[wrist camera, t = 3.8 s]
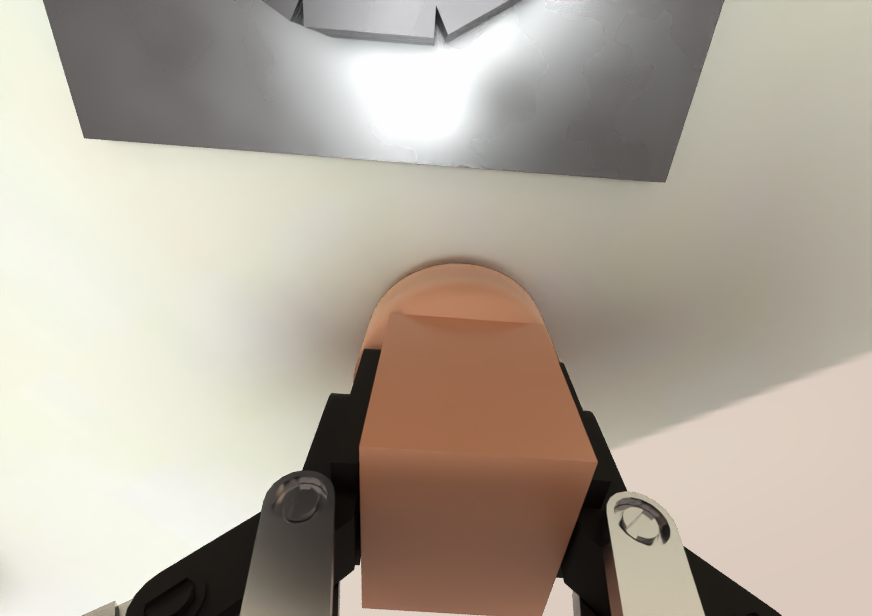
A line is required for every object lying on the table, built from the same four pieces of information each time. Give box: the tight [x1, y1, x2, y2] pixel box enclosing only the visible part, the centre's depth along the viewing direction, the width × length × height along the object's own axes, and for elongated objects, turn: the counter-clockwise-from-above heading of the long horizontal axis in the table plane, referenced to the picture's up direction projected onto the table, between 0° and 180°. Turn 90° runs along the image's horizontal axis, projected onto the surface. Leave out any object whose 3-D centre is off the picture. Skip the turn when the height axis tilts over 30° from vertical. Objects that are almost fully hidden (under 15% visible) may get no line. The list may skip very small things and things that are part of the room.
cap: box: [353, 264, 598, 616], centre depth 11 cm, size 6×6×7 cm
